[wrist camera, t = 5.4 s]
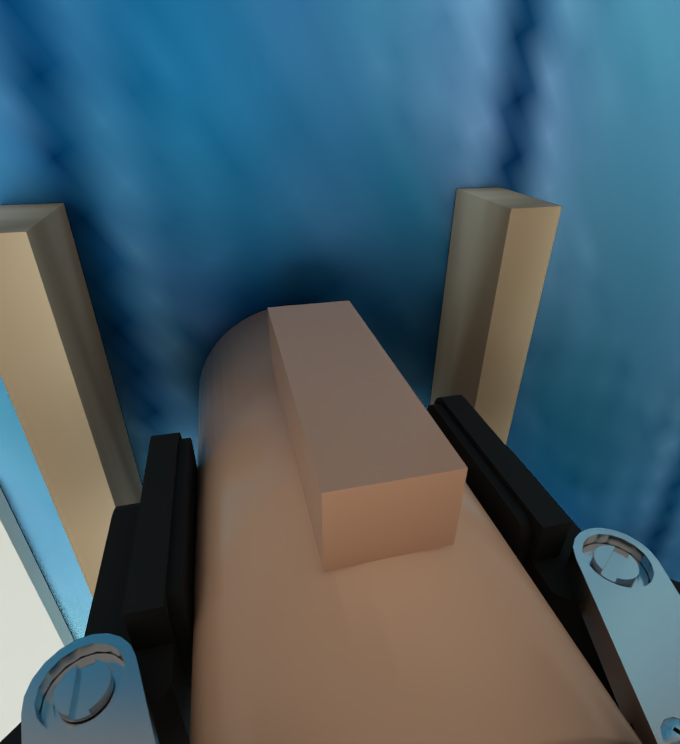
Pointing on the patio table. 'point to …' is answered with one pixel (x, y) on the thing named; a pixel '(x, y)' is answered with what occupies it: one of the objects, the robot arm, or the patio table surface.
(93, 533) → the cradle
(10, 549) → the mat
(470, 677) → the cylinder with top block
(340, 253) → the patio table surface
